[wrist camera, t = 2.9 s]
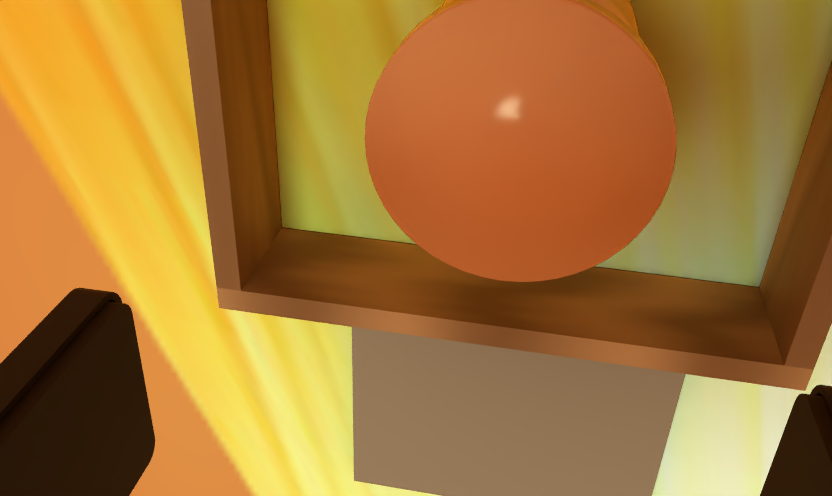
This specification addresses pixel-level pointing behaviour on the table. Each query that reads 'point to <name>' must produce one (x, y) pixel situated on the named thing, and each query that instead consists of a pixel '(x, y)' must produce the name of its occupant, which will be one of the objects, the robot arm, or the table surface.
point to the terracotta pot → (522, 135)
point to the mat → (504, 419)
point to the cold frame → (478, 296)
